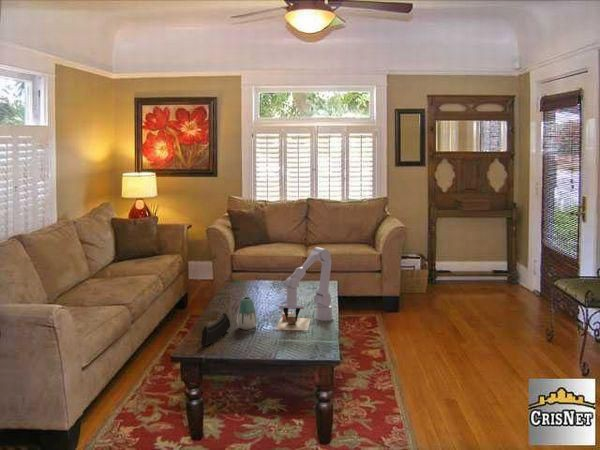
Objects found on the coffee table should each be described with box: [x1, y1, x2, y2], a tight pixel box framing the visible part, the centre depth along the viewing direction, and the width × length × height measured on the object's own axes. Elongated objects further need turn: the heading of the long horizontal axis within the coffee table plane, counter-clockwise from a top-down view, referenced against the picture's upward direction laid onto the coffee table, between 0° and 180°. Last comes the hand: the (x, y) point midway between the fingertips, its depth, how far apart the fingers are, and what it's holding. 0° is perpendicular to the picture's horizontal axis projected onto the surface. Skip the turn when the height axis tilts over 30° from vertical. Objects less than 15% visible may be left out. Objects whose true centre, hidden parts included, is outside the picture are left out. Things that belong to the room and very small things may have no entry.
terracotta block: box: [282, 311, 292, 321], centre depth 363 cm, size 5×5×4 cm
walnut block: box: [287, 314, 296, 324], centre depth 354 cm, size 5×5×4 cm
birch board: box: [275, 316, 312, 331], centre depth 355 cm, size 18×24×1 cm
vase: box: [236, 296, 258, 331], centre depth 349 cm, size 12×12×18 cm
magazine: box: [200, 312, 231, 346], centre depth 330 cm, size 17×3×30 cm
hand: (291, 320), depth 354 cm, fingers closed on walnut block, 4 cm apart
